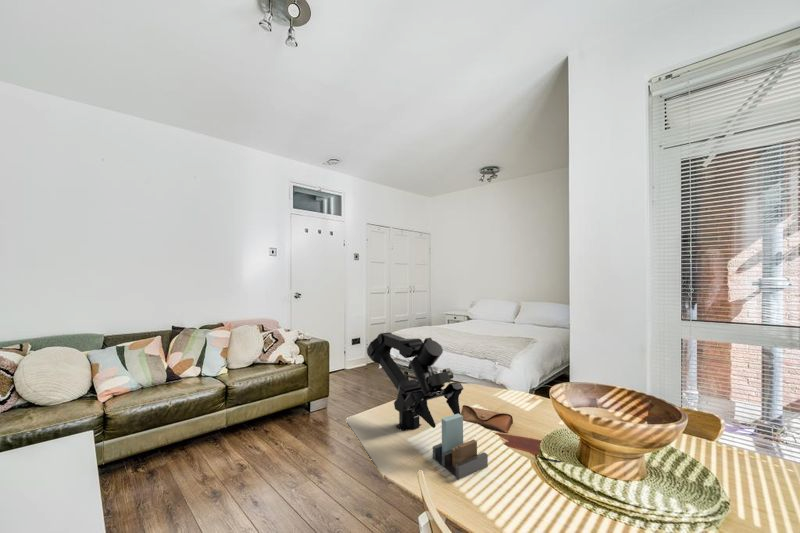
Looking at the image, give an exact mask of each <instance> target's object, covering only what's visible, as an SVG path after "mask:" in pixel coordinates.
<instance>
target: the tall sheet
mask: <svg viewBox="0 0 800 533" xmlns="http://www.w3.org/2000/svg"><path fill="white" fill-rule="evenodd" d="M460 414H461V413H460ZM460 414H455V415H454V414H451V415H449V416H446V417H442V418H441V443H442V453H444V452H447V451H449V450H452V449H453V448H455V447H456V446H458V445H460V444H463V443H464V421H463V416H462V415H460Z"/></svg>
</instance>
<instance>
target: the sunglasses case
mask: <svg viewBox="0 0 800 533" xmlns="http://www.w3.org/2000/svg"><path fill="white" fill-rule="evenodd" d="M460 415H462V416H463V422H467V423H468V422H469V423H473V424H477V425H479V426H481V427H482V428H484V429H489V430H493V431H497V432H499V433H500V432H501V433H503V434H509V431H510V429H511V428H512V425H513V424H514V420H513V416H512V415H511V414H510V413H505V412H497V411H494V410H493V411H492V410H489V409H488V410H487V409H484V408H479V407H478V408H477V407H473V406H469V405H467V404H466V405H465V404H464V405H462V408H461V410H460Z"/></svg>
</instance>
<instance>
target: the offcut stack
mask: <svg viewBox="0 0 800 533" xmlns="http://www.w3.org/2000/svg"><path fill="white" fill-rule="evenodd" d="M476 455H478V442H477V440H475V439H471V440H468V441H466V442H463V444H460V445H458V446H456V447H455V448H453V449H452V466H453V467H454V468H455V469H456V464H457V463H459V462H462V461H464V460H466V459H469V458H471V457H474V456H476Z"/></svg>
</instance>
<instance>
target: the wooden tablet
mask: <svg viewBox="0 0 800 533" xmlns="http://www.w3.org/2000/svg"><path fill="white" fill-rule="evenodd" d="M492 433H493V434H495V435H497V436H498V437H501V438H503V439H504V440H506V441H504V442H502V444H503V445H504V446H506V447H508V448H511V449H515V450H519V451H522V452H526V453H530V454H531V455H533V456H534V457H536V456H537V455H538V454H539V451H538V450H539V446H540V443H541V441H542V440H541V439H536V438H532V437H525V436H520V435H513V434H509V433H502V432H501V433H500V432H493V431H492Z"/></svg>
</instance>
